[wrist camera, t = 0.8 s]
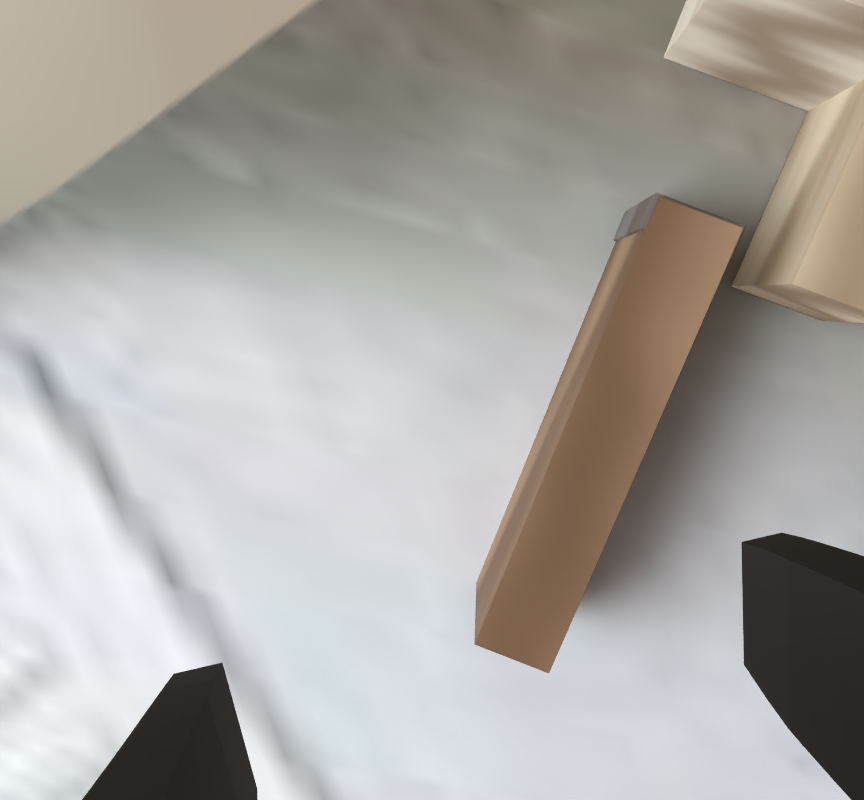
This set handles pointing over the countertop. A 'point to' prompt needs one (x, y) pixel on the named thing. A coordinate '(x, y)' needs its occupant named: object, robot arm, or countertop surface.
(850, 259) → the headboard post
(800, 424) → the countertop surface
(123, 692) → the countertop surface
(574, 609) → the bed rail
